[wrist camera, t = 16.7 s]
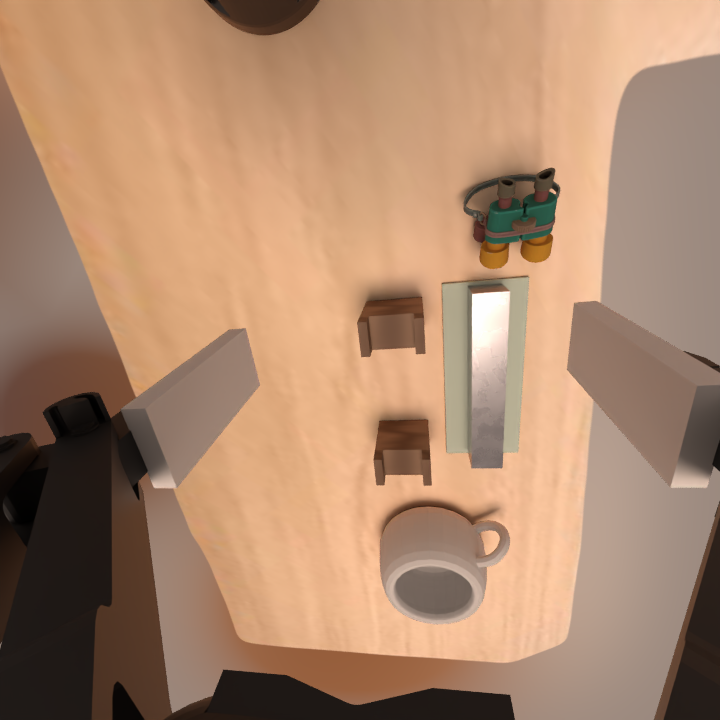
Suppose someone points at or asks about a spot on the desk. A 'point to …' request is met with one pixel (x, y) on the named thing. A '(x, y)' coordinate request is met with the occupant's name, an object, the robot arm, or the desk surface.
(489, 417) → the rail
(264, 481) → the desk surface
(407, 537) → the mug
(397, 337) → the rack
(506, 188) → the binoculars
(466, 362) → the mat
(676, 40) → the desk surface
